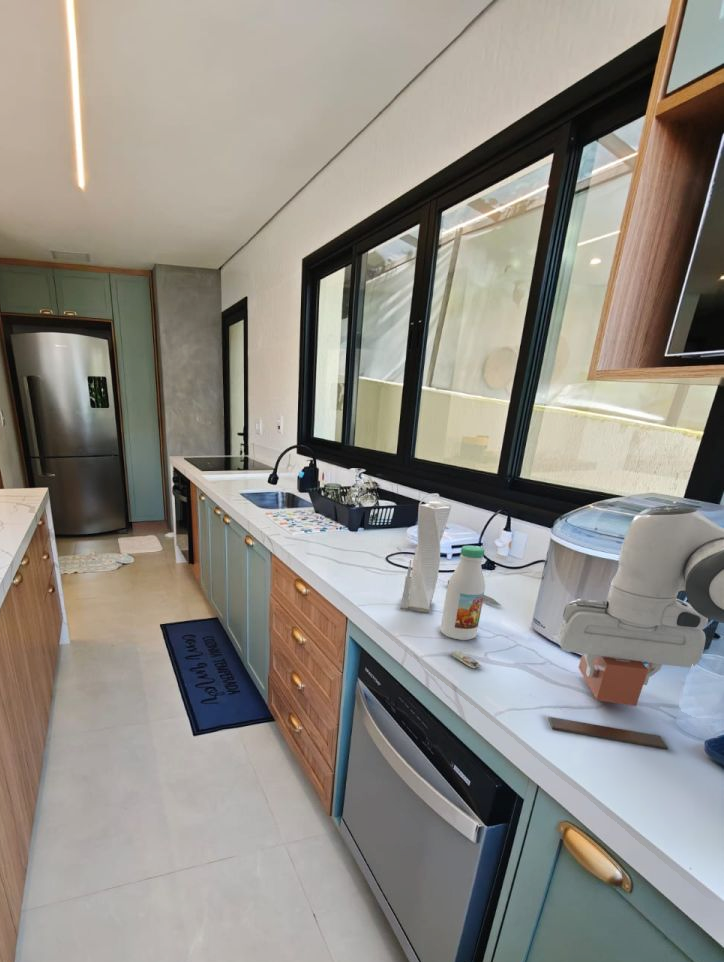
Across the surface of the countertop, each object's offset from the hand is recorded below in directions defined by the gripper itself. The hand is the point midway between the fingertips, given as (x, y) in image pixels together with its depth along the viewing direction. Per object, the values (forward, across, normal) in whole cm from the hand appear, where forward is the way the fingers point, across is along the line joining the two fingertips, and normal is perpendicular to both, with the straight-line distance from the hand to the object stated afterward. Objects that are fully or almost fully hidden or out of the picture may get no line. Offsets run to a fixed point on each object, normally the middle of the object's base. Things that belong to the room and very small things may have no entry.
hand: (615, 679), depth 87 cm
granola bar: (+4, -24, +7) cm, 25 cm away
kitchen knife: (+4, -20, +47) cm, 51 cm away
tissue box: (+3, 0, +3) cm, 4 cm away
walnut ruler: (+4, -3, -11) cm, 12 cm away
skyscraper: (+4, -34, +35) cm, 49 cm away
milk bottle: (+4, -24, +21) cm, 33 cm away
